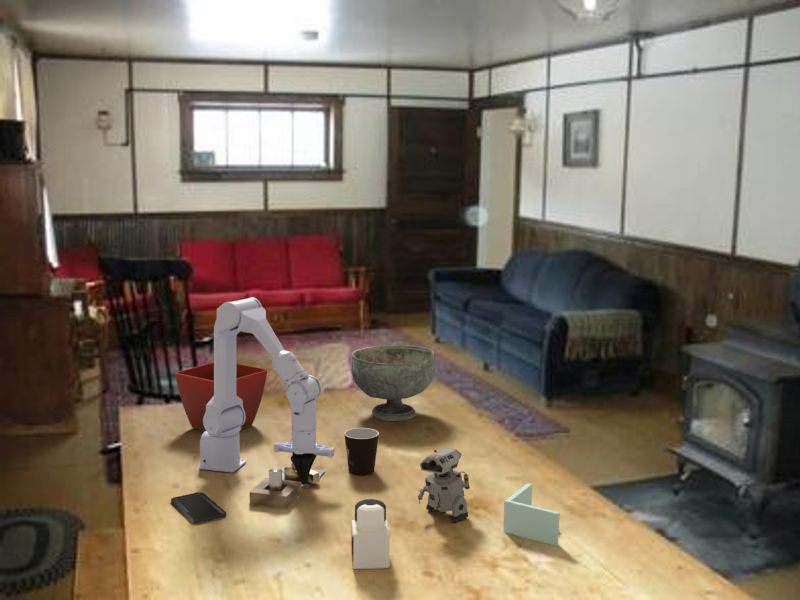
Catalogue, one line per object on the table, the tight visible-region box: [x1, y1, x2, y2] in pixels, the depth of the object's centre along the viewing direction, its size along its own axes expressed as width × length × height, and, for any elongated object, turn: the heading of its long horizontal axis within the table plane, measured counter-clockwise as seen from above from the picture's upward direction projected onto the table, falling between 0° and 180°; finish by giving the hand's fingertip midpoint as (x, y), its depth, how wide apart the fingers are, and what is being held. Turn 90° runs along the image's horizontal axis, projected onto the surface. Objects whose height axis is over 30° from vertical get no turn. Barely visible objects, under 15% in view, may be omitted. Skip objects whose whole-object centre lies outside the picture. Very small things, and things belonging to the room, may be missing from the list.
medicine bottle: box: [350, 498, 391, 570], centre depth 167 cm, size 7×7×12 cm
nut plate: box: [281, 465, 326, 489], centre depth 211 cm, size 11×11×1 cm
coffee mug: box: [344, 427, 380, 477], centre depth 216 cm, size 12×9×10 cm
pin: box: [268, 467, 282, 491], centre depth 197 cm, size 3×3×7 cm
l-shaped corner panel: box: [502, 482, 560, 547], centre depth 183 cm, size 12×12×8 cm
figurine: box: [417, 447, 471, 524], centre depth 187 cm, size 9×12×15 cm
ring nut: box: [284, 462, 320, 484], centre depth 209 cm, size 6×10×3 cm, turn 49°
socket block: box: [249, 477, 302, 510], centre depth 197 cm, size 9×9×3 cm
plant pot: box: [175, 361, 268, 432], centre depth 248 cm, size 19×19×17 cm
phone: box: [170, 491, 227, 525], centre depth 191 cm, size 8×1×15 cm
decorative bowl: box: [350, 344, 436, 422], centre depth 261 cm, size 26×26×20 cm
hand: (304, 482), depth 205 cm, fingers closed
